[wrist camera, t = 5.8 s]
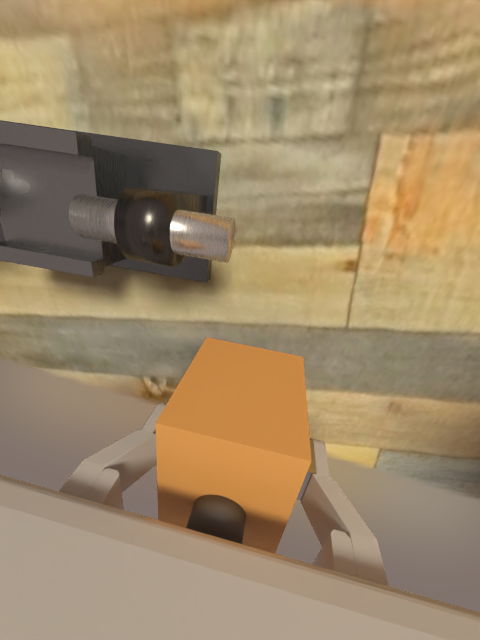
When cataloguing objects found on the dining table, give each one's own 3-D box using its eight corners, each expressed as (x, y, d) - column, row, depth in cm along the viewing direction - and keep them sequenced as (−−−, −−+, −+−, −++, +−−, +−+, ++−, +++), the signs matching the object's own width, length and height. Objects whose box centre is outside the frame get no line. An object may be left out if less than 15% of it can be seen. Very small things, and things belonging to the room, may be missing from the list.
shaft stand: (256, 158, 17) (226, 105, 8) (239, 284, 21) (204, 353, 12) (-74, 111, 19) (-434, 21, 10) (-34, 235, 23) (-260, 260, 13)
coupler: (206, 337, 12) (140, 447, 7) (303, 357, 11) (313, 492, 6) (198, 440, 15) (149, 569, 10) (273, 458, 14) (264, 604, 9)
